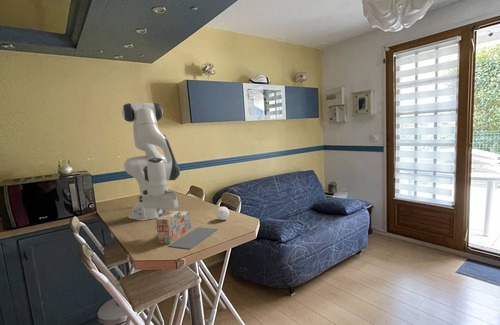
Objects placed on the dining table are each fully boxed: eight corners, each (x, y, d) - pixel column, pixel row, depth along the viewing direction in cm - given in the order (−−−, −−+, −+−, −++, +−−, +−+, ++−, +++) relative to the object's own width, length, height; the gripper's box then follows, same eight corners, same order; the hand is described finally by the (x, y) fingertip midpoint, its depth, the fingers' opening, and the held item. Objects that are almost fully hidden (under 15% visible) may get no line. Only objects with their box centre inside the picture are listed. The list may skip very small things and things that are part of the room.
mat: (168, 246, 122) (168, 245, 122) (198, 227, 144) (198, 227, 144) (190, 249, 117) (190, 248, 117) (217, 229, 139) (217, 228, 139)
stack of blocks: (180, 227, 147) (178, 205, 145) (191, 227, 145) (188, 205, 144) (158, 244, 126) (155, 218, 125) (170, 244, 124) (167, 218, 123)
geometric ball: (222, 223, 157) (224, 210, 161) (231, 220, 152) (232, 207, 156) (212, 219, 152) (213, 206, 157) (221, 216, 147) (222, 203, 151)
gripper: (179, 189, 134) (182, 216, 135) (148, 188, 142) (151, 214, 144) (171, 192, 128) (174, 220, 130) (139, 191, 136) (142, 217, 138)
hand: (161, 216), depth 137 cm, fingers closed
